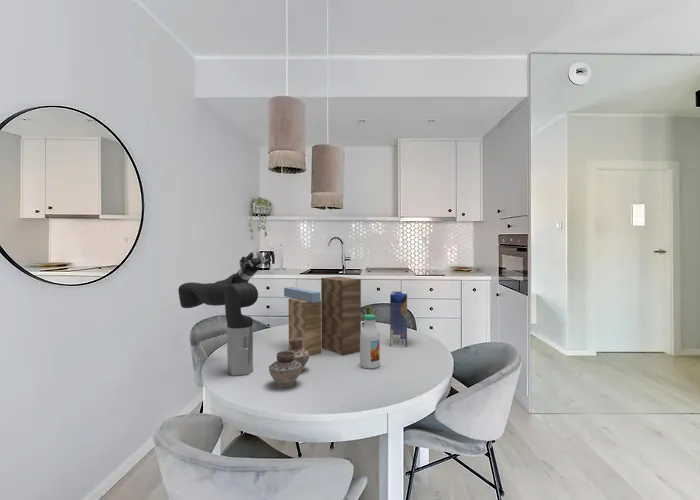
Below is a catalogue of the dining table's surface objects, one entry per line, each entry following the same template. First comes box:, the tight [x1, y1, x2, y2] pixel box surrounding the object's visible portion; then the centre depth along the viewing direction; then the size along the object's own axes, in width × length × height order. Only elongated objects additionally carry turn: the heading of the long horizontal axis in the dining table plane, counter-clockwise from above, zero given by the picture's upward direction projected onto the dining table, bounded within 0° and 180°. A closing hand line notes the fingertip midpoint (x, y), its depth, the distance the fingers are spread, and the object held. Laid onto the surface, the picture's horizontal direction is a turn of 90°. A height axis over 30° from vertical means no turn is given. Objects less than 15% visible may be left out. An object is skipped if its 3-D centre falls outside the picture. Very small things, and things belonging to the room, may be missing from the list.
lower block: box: [288, 297, 322, 357], centre depth 173 cm, size 14×8×23 cm, turn 39°
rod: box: [283, 286, 321, 303], centre depth 174 cm, size 24×4×4 cm, turn 39°
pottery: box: [268, 338, 310, 388], centre depth 140 cm, size 11×25×12 cm, turn 174°
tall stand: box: [320, 276, 362, 356], centre depth 175 cm, size 16×10×32 cm, turn 39°
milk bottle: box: [359, 313, 381, 370], centre depth 152 cm, size 8×8×20 cm
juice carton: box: [389, 290, 408, 348], centre depth 185 cm, size 12×8×24 cm, turn 170°
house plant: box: [361, 304, 380, 329], centre depth 202 cm, size 14×14×16 cm
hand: (261, 253), depth 181 cm, fingers open, 8 cm apart
